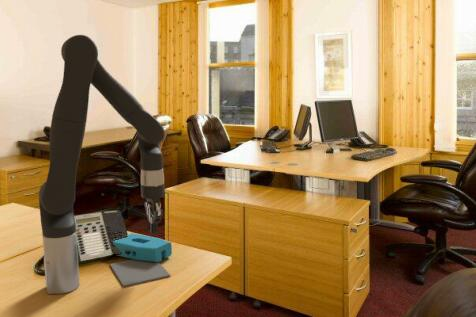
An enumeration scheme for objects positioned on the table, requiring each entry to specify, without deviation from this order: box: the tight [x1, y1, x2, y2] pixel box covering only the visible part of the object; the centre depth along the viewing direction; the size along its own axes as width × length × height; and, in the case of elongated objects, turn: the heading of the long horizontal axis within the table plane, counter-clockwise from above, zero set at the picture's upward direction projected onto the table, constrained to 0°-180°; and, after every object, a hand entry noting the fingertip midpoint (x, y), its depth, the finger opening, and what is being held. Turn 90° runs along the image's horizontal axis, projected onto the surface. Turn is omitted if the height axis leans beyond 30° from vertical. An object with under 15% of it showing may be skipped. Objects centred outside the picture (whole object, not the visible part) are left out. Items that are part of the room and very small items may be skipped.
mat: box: [109, 259, 171, 288], centre depth 140 cm, size 15×18×1 cm
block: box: [113, 232, 173, 263], centre depth 152 cm, size 12×5×20 cm
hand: (154, 233), depth 141 cm, fingers closed
